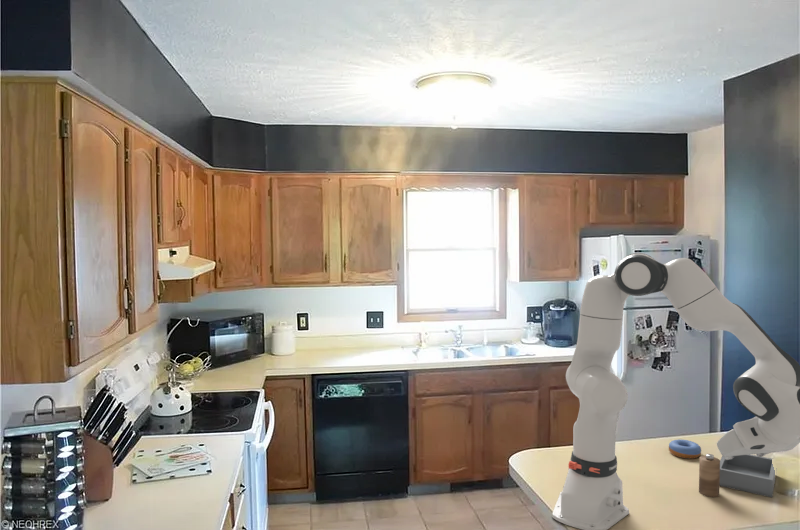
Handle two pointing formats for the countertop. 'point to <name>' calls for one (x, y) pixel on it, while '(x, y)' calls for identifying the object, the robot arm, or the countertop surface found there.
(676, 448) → the doughnut
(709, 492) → the pepper mill
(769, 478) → the bin
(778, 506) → the countertop surface
